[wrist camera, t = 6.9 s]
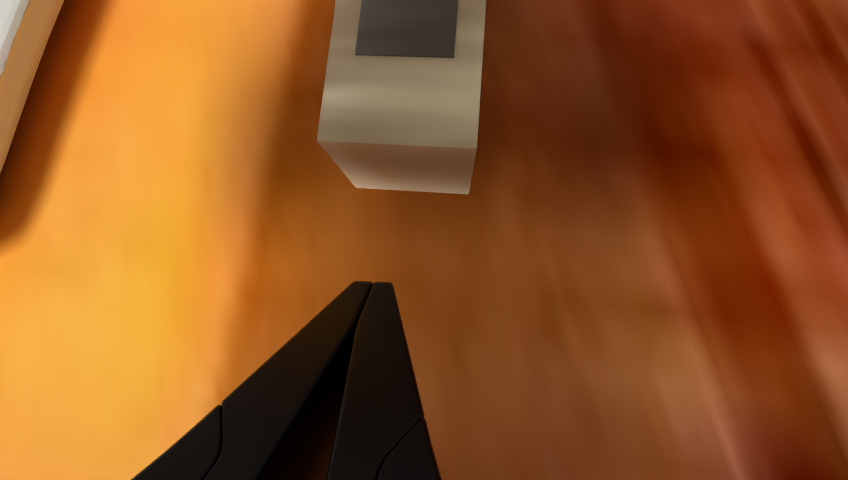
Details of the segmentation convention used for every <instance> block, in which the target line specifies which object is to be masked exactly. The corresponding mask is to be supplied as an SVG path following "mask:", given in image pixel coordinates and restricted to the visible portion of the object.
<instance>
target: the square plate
mask: <svg viewBox="0 0 848 480" xmlns="http://www.w3.org/2000/svg"><path fill="white" fill-rule="evenodd" d="M63 3H64V0H0V173H1V170H2V168H3V165H4V162H5V160H6V157H7V154H8V151H9V148H10V145H11V142H12V140H13V137H14V134H15V131H16V128H17V125H18V122H19V119H20V116H21V113H22V111H23V108H24V105H25V102H26V99H27V96H28V93H29V91H30V88H31V85H32V82H33V79H34V77H35V74H36V71H37V68H38V66H39V63H40V60H41V58H42V55H43V52H44V49H45V47H46V44H47V41H48V39H49V36H50V34H51V31H52V29H53V26H54V24H55V22H56V19H57V17H58V14H59V12H60V10H61V7H62V5H63Z"/></svg>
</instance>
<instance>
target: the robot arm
mask: <svg viewBox="0 0 848 480" xmlns="http://www.w3.org/2000/svg"><path fill="white" fill-rule="evenodd" d="M131 480H442V479H441V476H440V472H439V469H438V465H437V462H436V458H435V455H434V451H433V447H432V444H431V440H430V436H429V431H428V427H427V423H426V420H425V419H424V412H423V407H422V403H421V399H420V395H419V391H418V387H417V383H416V378H415V374H414V370H413V366H412V362H411V358H410V353H409V349H408V345H407V341H406V337H405V333H404V328H403V324H402V320H401V316H400V312H399V308H398V304H397V299H396V295H395V291H394V287H393V284H392V283H391V282H375V283H372V282H369V281H355V282H353V283H351V284H350V285H349V286H348V287H347V288H346V289H345V290H344V291H343V292H342V293H340V294H339V295H338V296H337V297H336V298H335V299H334V300H333V301H332V302H331V303H330V304H328V305H327V306H326V307H325V308H324V309H323V310H322V311H321V312H320V313H319V314H317V315H316V316H315V317H314V318H313V319H312V320H311V321H310V322H309V323H308V324H306V325H305V326H304V327H303V328H302V329H301V330H300V331H299V332H298V333H297V334H295V335H294V336H293V337H292V338H291V339H290V340H289V341H288V342H287V343H286V344H284V345H283V346H282V347H281V348H280V349H279V350H278V351H277V352H276V353H275V354H273V355H272V356H271V357H270V358H269V359H268V360H267V361H266V362H265V363H264V364H262V365H261V366H260V367H259V368H258V369H257V370H256V371H255V372H254V373H253V374H251V375H250V376H249V377H248V378H247V379H246V380H245V381H244V382H243V383H242V384H241V385H239V386H238V387H237V388H236V389H235V390H234V391H233V392H232V393H231V394H230V395H228V396H227V397H226V398H225V399H224V400H223V401H222V406H221V405H217V406H216V407H215V408H214V409H213V410H212V411H211V412H209V413H208V414H207V415H206V416H205V417H204V418H203V419H202V420H201V421H200V422H199V423H197V424H196V425H195V426H194V427H193V428H192V429H191V430H189V431H188V432H187V433H186V434H185V435H184V436H183V437H181V438H180V439H179V440H178V441H177V442H176V443H175V444H173V445H172V446H171V447H170V448H169V449H168V450H167V451H165V452H164V453H163V454H162V455H161V456H159V457H158V458H157V459H156V460H154V461H153V462H152V463H151V464H150V465H148V466H147V467H146V468H145V469H143V470H142V471H141V472H140V473H139V474H137V475H136V476H135V477H134V478H132V479H131Z"/></svg>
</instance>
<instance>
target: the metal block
mask: <svg viewBox="0 0 848 480" xmlns="http://www.w3.org/2000/svg"><path fill="white" fill-rule="evenodd" d="M485 11H486V0H336V3H335V11H334V18H333V25H332V32H331V40H330V47H329V54H328V61H327V69H326V76H325V83H324V90H323V98H322V105H321V112H320V119H319V127H318V134H317V142H318V143H319V144H320V145H321V147H322V148H323V149H324V150H325V151H326V153H327V154H328V155H329V156H330V157H331V159H332V160H333V161H334V162H335V163H336V165H337V166H338V167H339V168H340V169H341V170H342V172H343V173H344V174H345V175H346V176H347V178H348V179H349V180H350V181H351V182H352V184H353V185H354V186H355V187H356V188H368V189H385V190H402V191H419V192H437V193H454V194H469V190H470V184H471V179H472V173H473V168H474V162H475V157H476V151H477V140H478V124H479V108H480V92H481V76H482V59H483V43H484V27H485Z"/></svg>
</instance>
